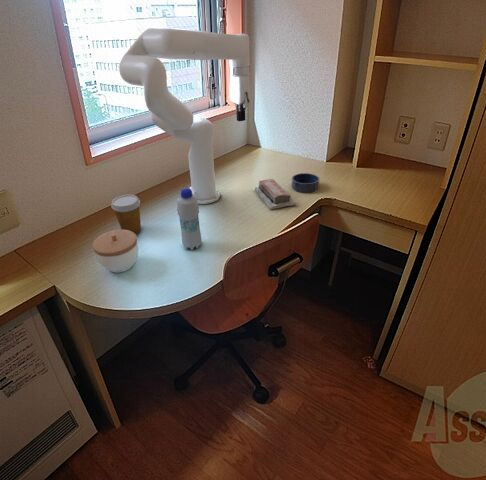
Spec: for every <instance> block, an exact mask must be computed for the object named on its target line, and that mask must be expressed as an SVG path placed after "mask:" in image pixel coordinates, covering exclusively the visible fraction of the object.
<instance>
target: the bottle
mask: <svg viewBox="0 0 486 480" xmlns="http://www.w3.org/2000/svg"><path fill="white" fill-rule="evenodd" d="M180 192H181V195H180V197H178V198H177V200H176V212H177V215H178V217H179V218H178V219H179V226H180V234H181V243H182V246H183V247H184V248H185V249H186V250H188V249H190V250H191V251H192V250H194V249H198V248H200V246H201V245H202V243H203V242H202V233H201V227H200V218H199V217H200V215H199V213H200V207H199V204H198V202H197V199H196V197H194V196H192V191H191V190H190V188H183V189H181V190H180Z"/></svg>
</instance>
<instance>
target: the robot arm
mask: <svg viewBox="0 0 486 480" xmlns="http://www.w3.org/2000/svg"><path fill="white" fill-rule="evenodd" d="M250 51H251V50H250V36H249V35H248V34H247V33H234V34H231V33H221V32H211V31H206V30H197V29H187V28H186V29H184V28H177V27H167V26H165V27H149V28H147V29H145V30H144V31H143V32H142V33H141V34H140V35H139V36H138V37H137V38H136V40H135V41H134V42H133V44H131V46H130V47H129V49H127V51H126V52H125V53H124V55H123V56H122V58H121V60H120V62H119V65H118V69H119V74H120V77H121V79H122V80H123V81H124V82H125V83H127V84H128V85H131V86H137V87H138V86H139V87H143V94H144V95H143V96H144V102H145V106H146V108H147V109H148V110H149V112H150V118H151V120H152V122H153V124H154V125H155V126H156V127H157V128H159V129H160V130H162V131H163V132H165V133H167V134H168V135H170V136H171V137H173V138H175V139H176V140H178V141H182V142H185V143H188V144H190V147H189V150H188V153H187V157H188V167H189V176H190V185H191V186H189V188H188V189H190V190H191V191H192V196H194V197H196V199H197V202H198V205H209V204H212V203H214V202H217V201H218V200H219V199H220V197H221V194H220V192H219V191H218V190H217V189H216V177H215V176H216V175H215V160H214V139H215V127H214V126H215V125H214V124H213V123H212V122H211V120H209V119H207V118H205V117H202V116H196V115H194V114H193V112H192V110H191V109H190V107H189V106H188V105H186V104H185V103H183V102H182V101H181V100H180V99H179V98H178V97H176V96H174V95H173V93H172V92H170V91H169V88H168V78H167V77H168V75H167V70H166V67H165V65H164V63H163V62H162V61H161V60H160V59H165V60H189V61H190V60H191V61H212V60H225V61H226V60H229V101H230V102H231V103H234V105H235V111H236V115H235V116H236V121H237V122H243V121H246V110H247V108H248V107H249V104H250V102H251V83H250V81H251V80H250V75H251V69H250V68H251V67H250V66H251V65H250V63H251V62H250V61H251V60H250ZM179 194H180V196H181V191H180V193H179Z"/></svg>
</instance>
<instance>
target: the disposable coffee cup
mask: <svg viewBox="0 0 486 480" xmlns="http://www.w3.org/2000/svg"><path fill="white" fill-rule="evenodd" d="M140 204H141V200H140V199H139V197H138V196H137V195H134V194H123V195H119V196H117V197H115V198H113V199H112V201H111V205H110V207H111V209H112V210H113V212H114V214H115V217H116V219H117V222H118V224H119V226H120V230H129V231H132V232H133V233H135V234H136V235H137V234H139V233H140V232H141V231H142V226H141V213H140V209H141V208H140Z"/></svg>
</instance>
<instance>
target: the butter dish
mask: <svg viewBox="0 0 486 480" xmlns="http://www.w3.org/2000/svg"><path fill="white" fill-rule="evenodd" d="M254 192H256V194H258V196H259V198H260V199H261V200H262V202H263V203H265V204H266V206H267V207H268V208H269V209H270V210H272V211H273V210H276V209H281V208H285V207H290V206H292V207H293V206H296V202H295V201H294V200H293V199H292V198H291V195H290V194H289V193H288V192H287V190H285V189H284V188H283V186H281V185H280V184H279V183H278V182H277V181H276V179H274V178H268V179H262V180H259V182H258V187H254Z"/></svg>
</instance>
